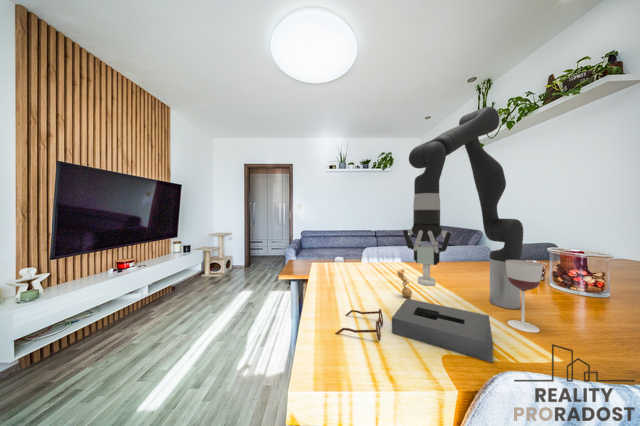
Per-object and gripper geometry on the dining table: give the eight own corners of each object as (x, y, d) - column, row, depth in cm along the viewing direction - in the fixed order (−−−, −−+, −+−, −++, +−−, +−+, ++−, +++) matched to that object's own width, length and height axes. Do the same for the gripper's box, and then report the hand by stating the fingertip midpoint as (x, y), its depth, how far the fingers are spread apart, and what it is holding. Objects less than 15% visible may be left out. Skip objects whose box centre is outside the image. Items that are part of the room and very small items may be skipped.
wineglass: (535, 336, 65) (535, 267, 65) (500, 322, 73) (500, 261, 73) (547, 329, 69) (547, 264, 69) (512, 317, 77) (512, 258, 77)
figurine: (416, 300, 91) (416, 271, 91) (402, 301, 91) (402, 271, 91) (406, 293, 100) (406, 266, 100) (393, 293, 99) (393, 266, 99)
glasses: (379, 344, 62) (379, 326, 62) (334, 335, 67) (334, 318, 67) (383, 322, 75) (383, 307, 75) (345, 316, 79) (344, 302, 79)
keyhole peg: (419, 280, 74) (419, 244, 74) (436, 282, 71) (436, 246, 71) (416, 284, 70) (416, 246, 69) (434, 287, 67) (434, 248, 67)
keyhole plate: (391, 332, 67) (391, 317, 67) (406, 310, 82) (406, 298, 82) (492, 363, 54) (492, 344, 54) (488, 330, 69) (488, 315, 69)
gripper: (454, 208, 69) (453, 264, 69) (405, 208, 77) (405, 258, 77) (452, 208, 63) (451, 269, 63) (399, 208, 71) (399, 262, 71)
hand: (426, 263), depth 70 cm, fingers closed on keyhole peg, 4 cm apart
